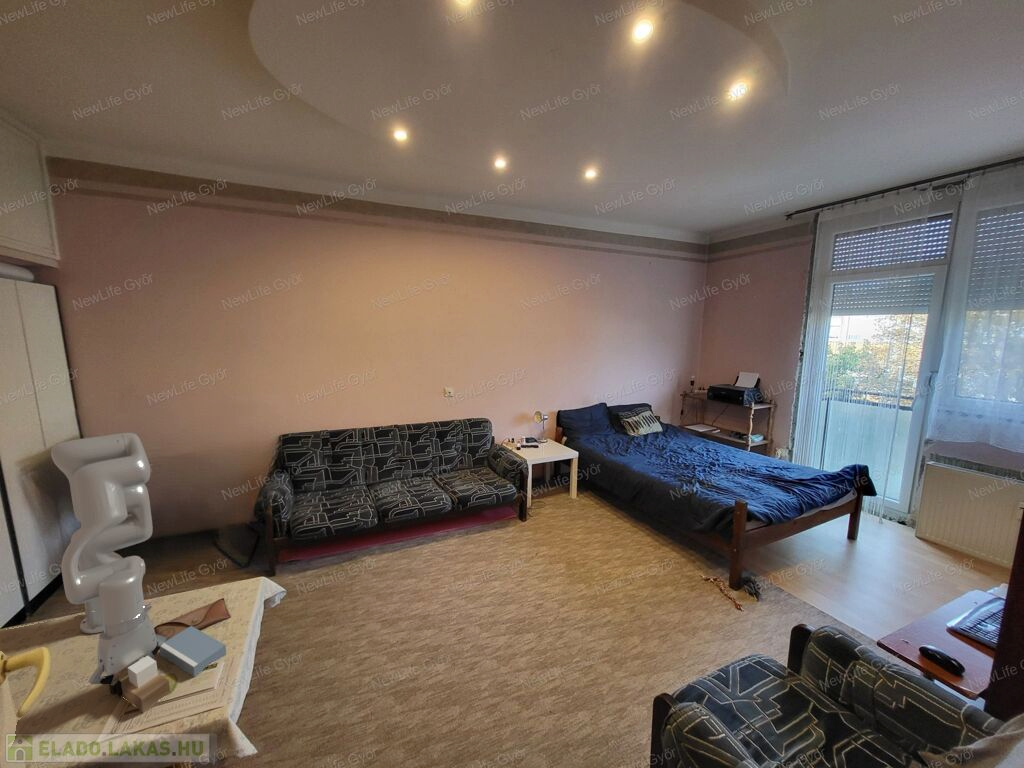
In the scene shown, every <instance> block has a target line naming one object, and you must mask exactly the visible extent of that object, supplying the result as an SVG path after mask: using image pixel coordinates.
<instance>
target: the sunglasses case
mask: <svg viewBox="0 0 1024 768" xmlns="http://www.w3.org/2000/svg"><path fill="white" fill-rule="evenodd" d="M231 618H232V615H230V613H229V610H228V608H227V604H226V600H225V598H224V597H223V598H219V599H217V600H216V601H214V602H211V603H209V604H206V605H204V606H203V605H202V607H198V608H196V609H194V610H191V611H189V612H186V613H184V614H182V615H180V616H178V617H175V618H173V619H171V620H169V621H166V622H162V623H159V624H157V625H156V626H153V627H154V630H155V634H157V635H162V636H165V637H166V640H165V642H166V641H167V640H169V639H170V638H172V637H174V636H175V635H177V634H179V633H180V632H182V631H184V630H185V629H187V628H189V627H190V626H193V627H194V628H196V629H198V630H200V631H201V632H202V631H203V630H205V629H207V628H209V627H211V626H215V624H219V623H221V622H223V621H226V620H229V619H231Z"/></svg>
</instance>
